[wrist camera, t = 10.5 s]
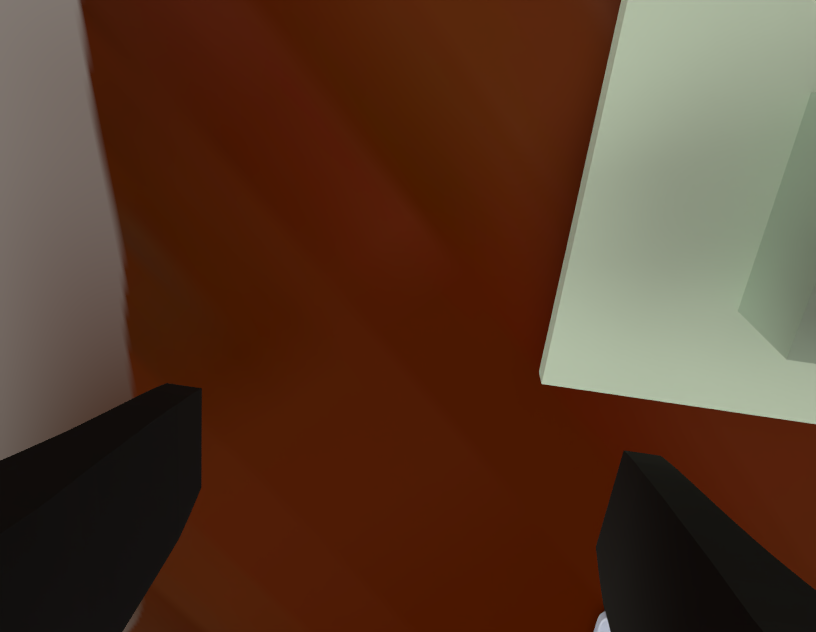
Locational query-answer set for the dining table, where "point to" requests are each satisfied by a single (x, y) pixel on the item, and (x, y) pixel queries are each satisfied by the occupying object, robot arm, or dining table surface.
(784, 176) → the lid
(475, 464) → the dining table surface
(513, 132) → the dining table surface
